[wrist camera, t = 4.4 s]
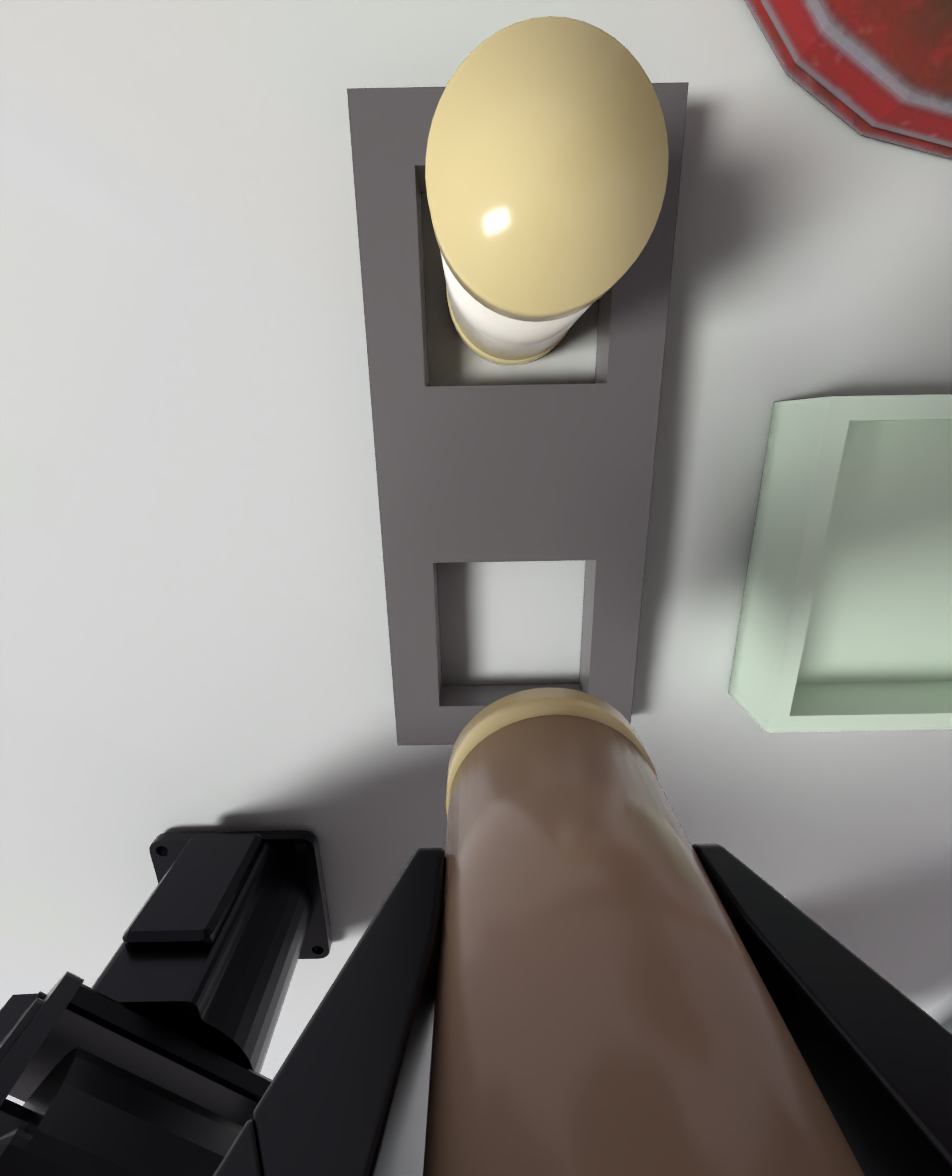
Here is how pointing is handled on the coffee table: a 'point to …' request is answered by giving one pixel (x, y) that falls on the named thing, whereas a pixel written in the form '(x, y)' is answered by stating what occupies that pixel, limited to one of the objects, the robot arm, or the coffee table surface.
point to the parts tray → (851, 569)
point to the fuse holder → (502, 434)
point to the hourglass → (870, 63)
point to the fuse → (541, 182)
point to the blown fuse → (598, 974)
